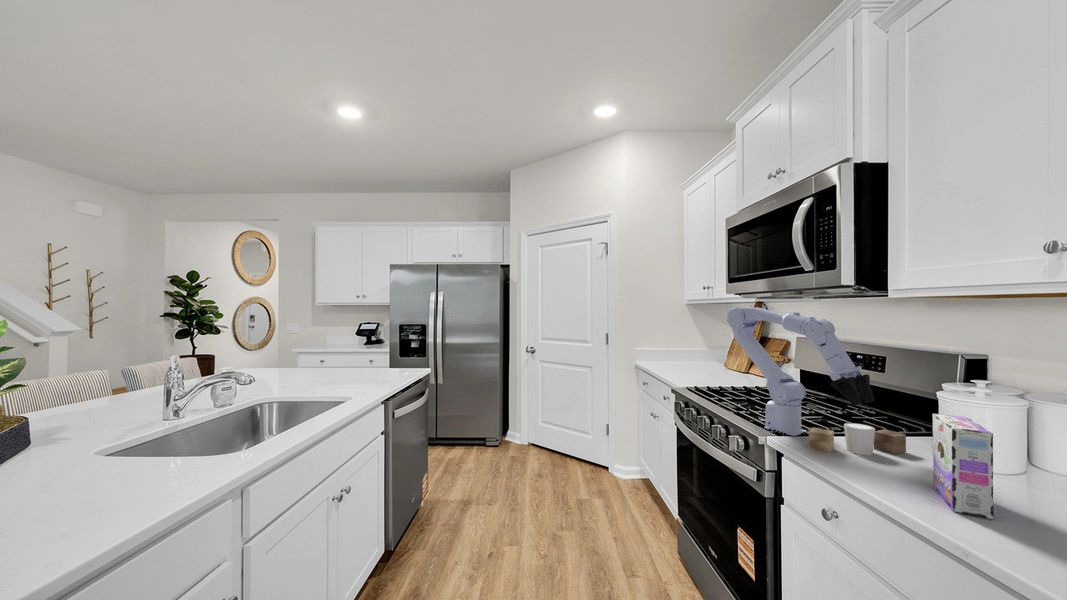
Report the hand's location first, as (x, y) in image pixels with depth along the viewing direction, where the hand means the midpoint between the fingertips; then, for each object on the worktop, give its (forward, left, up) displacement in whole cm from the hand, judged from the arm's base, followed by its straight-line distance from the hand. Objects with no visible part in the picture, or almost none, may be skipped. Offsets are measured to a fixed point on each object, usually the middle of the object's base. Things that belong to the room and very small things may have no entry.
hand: (864, 403), depth 114 cm
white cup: (-1, -1, -14) cm, 14 cm away
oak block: (-8, -7, -13) cm, 17 cm away
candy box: (+23, -18, -14) cm, 32 cm away
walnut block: (+3, +7, -13) cm, 16 cm away
